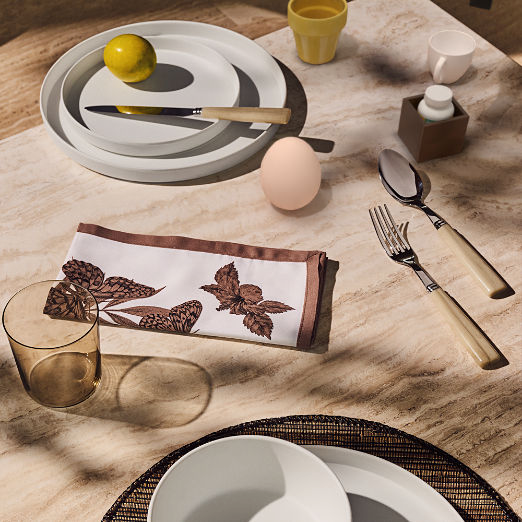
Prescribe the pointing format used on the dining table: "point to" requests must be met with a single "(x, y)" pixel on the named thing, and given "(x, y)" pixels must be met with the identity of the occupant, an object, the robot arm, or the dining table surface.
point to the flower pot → (317, 27)
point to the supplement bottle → (436, 104)
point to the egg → (290, 173)
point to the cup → (450, 55)
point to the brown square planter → (431, 131)
